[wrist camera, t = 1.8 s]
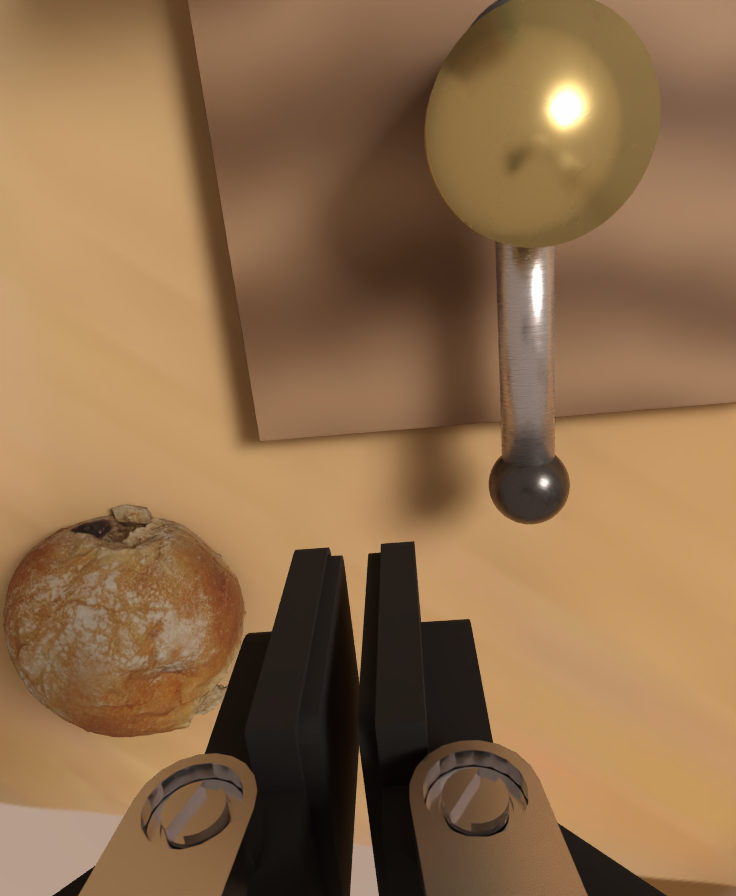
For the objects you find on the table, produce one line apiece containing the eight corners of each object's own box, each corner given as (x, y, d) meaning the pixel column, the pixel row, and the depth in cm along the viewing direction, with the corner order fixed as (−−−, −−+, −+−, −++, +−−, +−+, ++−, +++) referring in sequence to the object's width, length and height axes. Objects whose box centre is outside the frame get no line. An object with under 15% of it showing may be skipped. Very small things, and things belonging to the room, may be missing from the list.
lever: (411, 37, 21) (416, -12, 16) (603, 14, 21) (668, -43, 16) (441, 497, 27) (452, 563, 22) (593, 485, 26) (639, 550, 21)
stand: (761, 387, 27) (947, 482, 18) (266, 429, 28) (207, 536, 19) (841, -357, 19) (1236, -848, 10) (158, -253, 20) (-25, -606, 11)
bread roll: (240, 486, 33) (169, 483, 25) (283, 695, 32) (224, 761, 24) (58, 530, 34) (-64, 540, 26) (94, 734, 33) (-22, 808, 25)
